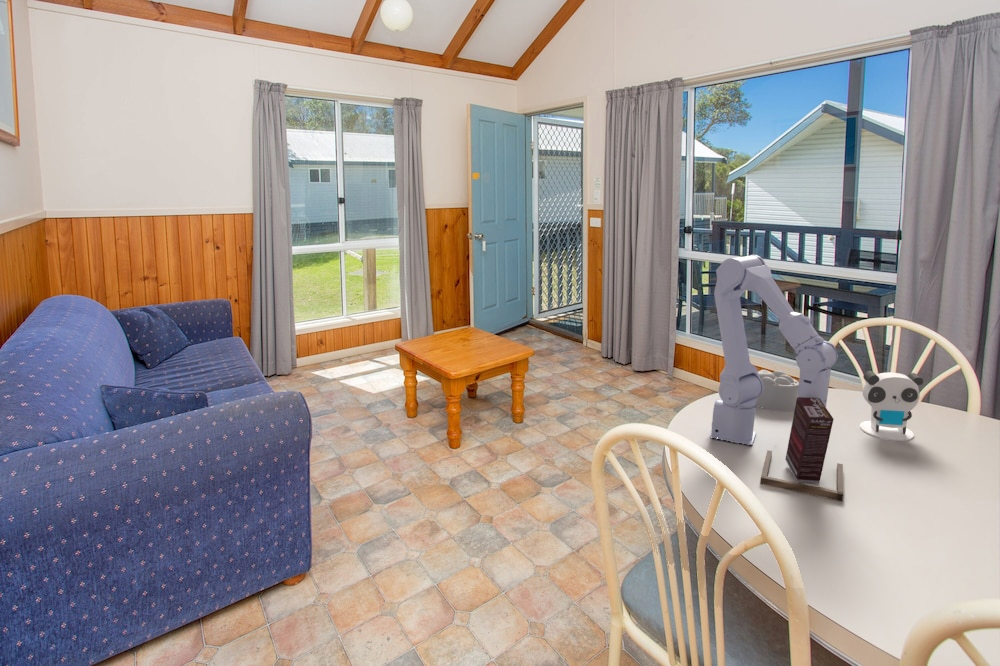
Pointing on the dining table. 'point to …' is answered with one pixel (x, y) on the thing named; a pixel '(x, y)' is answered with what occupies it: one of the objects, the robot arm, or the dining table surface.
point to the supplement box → (808, 440)
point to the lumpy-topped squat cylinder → (778, 391)
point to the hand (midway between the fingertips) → (804, 454)
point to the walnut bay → (803, 487)
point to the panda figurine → (890, 404)
